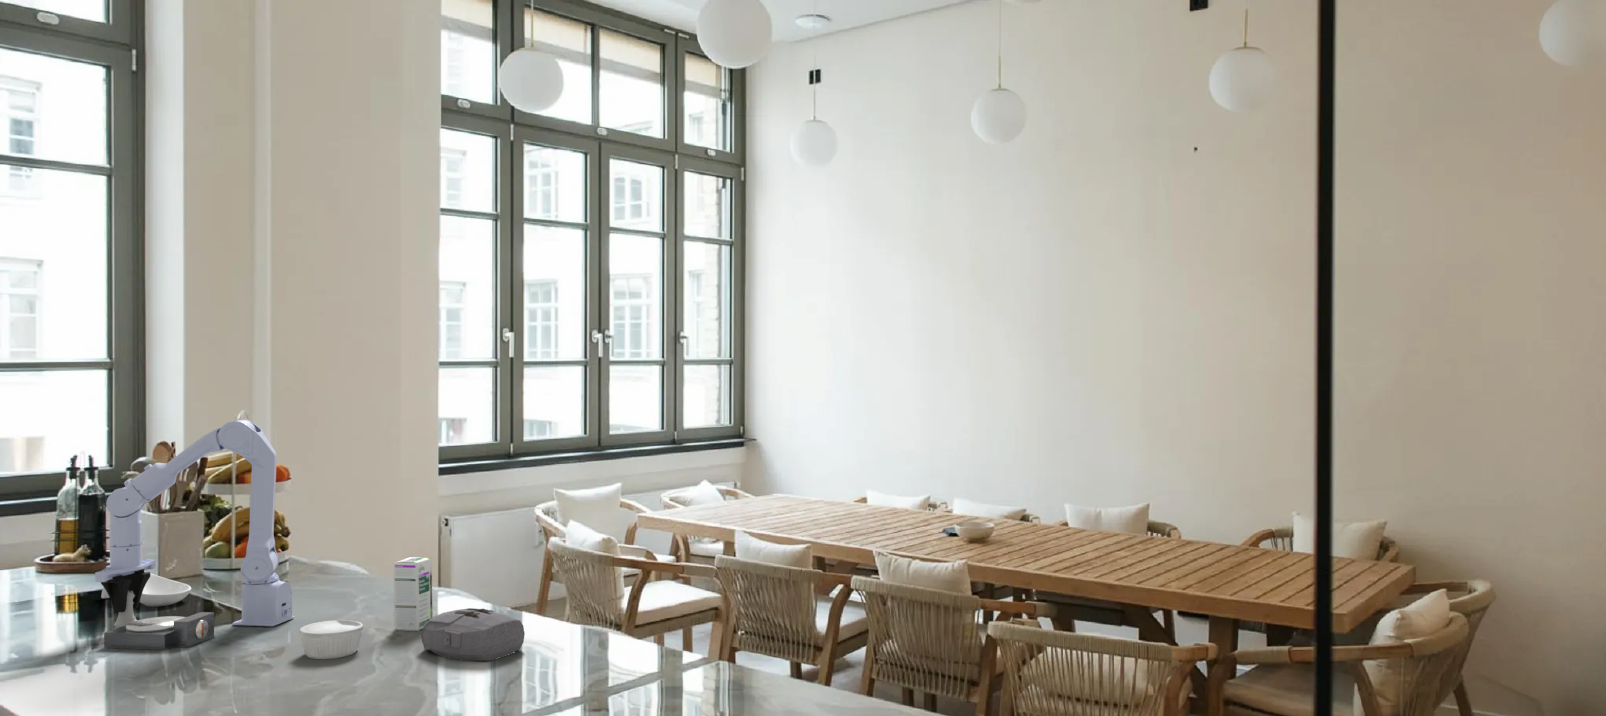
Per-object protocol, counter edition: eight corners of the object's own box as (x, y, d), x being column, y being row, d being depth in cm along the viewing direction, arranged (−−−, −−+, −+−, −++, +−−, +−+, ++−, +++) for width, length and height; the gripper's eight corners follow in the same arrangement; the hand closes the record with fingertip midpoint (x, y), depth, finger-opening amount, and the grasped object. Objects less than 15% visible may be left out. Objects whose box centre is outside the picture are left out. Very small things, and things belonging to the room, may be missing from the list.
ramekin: (375, 648, 216) (375, 622, 216) (333, 663, 206) (333, 635, 206) (329, 643, 220) (329, 617, 220) (286, 658, 209) (286, 630, 209)
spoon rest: (202, 601, 258) (202, 571, 258) (156, 612, 248) (156, 580, 248) (131, 593, 267) (132, 564, 267) (84, 603, 256) (84, 572, 256)
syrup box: (418, 631, 229) (418, 562, 229) (392, 630, 231) (393, 561, 230) (433, 624, 235) (433, 557, 235) (408, 623, 236) (408, 556, 236)
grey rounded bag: (534, 649, 216) (461, 636, 226) (534, 607, 216) (461, 596, 226) (477, 668, 203) (402, 653, 213) (477, 623, 203) (402, 610, 213)
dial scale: (224, 634, 227) (224, 609, 227) (180, 650, 214) (180, 625, 214) (151, 631, 229) (151, 607, 229) (104, 647, 216) (104, 622, 216)
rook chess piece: (121, 627, 231) (120, 589, 231) (143, 627, 232) (142, 589, 232) (109, 633, 227) (108, 594, 227) (131, 632, 227) (131, 594, 227)
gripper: (134, 538, 237) (134, 601, 237) (81, 550, 223) (81, 617, 223) (163, 539, 236) (164, 602, 236) (113, 551, 222) (113, 618, 222)
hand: (126, 609), depth 229 cm, fingers closed on rook chess piece, 3 cm apart
